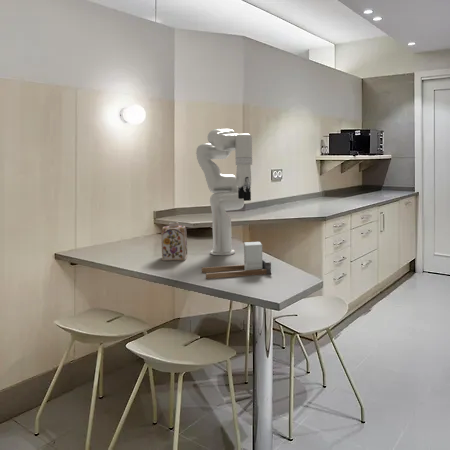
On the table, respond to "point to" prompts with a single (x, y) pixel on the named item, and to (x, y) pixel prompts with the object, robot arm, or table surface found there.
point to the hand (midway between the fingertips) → (244, 199)
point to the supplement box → (252, 255)
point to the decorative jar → (174, 242)
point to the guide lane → (232, 273)
